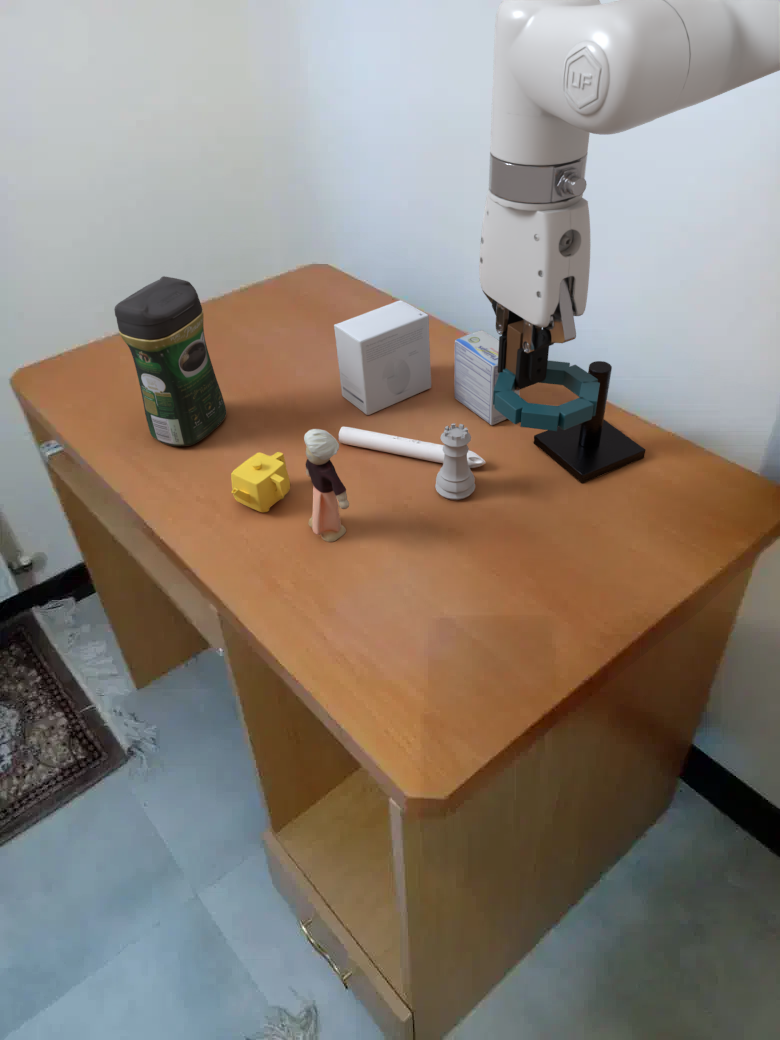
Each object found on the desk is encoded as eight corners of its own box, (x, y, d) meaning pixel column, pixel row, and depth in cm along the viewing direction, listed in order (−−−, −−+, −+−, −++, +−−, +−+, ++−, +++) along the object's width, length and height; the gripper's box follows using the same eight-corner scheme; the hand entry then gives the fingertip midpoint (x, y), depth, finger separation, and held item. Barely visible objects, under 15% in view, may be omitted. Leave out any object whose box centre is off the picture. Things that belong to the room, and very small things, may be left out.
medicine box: (519, 415, 98) (523, 353, 93) (490, 427, 97) (493, 365, 91) (480, 388, 104) (483, 328, 98) (453, 399, 102) (453, 338, 96)
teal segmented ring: (617, 409, 71) (628, 349, 67) (535, 441, 68) (541, 381, 64) (552, 364, 78) (558, 307, 74) (474, 392, 74) (476, 334, 70)
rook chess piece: (476, 501, 86) (478, 441, 81) (435, 502, 87) (435, 443, 81) (474, 476, 90) (475, 417, 84) (434, 477, 90) (434, 418, 85)
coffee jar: (189, 401, 104) (155, 265, 92) (237, 415, 101) (209, 277, 89) (139, 440, 98) (95, 300, 86) (189, 456, 95) (151, 313, 83)
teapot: (262, 531, 84) (254, 494, 81) (223, 512, 87) (214, 475, 83) (309, 491, 89) (304, 454, 86) (271, 474, 92) (264, 438, 88)
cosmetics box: (403, 368, 108) (400, 297, 101) (432, 388, 104) (431, 315, 97) (339, 395, 104) (331, 322, 97) (366, 416, 100) (361, 342, 93)
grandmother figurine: (292, 523, 85) (276, 425, 77) (319, 506, 87) (306, 409, 79) (340, 557, 81) (329, 457, 72) (367, 538, 83) (359, 438, 74)
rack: (644, 458, 91) (662, 373, 83) (581, 483, 88) (594, 397, 80) (593, 420, 97) (605, 338, 90) (533, 443, 94) (541, 360, 87)
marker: (488, 464, 91) (489, 448, 90) (483, 475, 90) (483, 458, 88) (346, 436, 97) (344, 420, 95) (339, 446, 95) (337, 430, 94)
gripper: (643, 194, 59) (608, 403, 71) (515, 142, 69) (504, 332, 82) (562, 216, 56) (541, 430, 68) (443, 159, 67) (443, 353, 79)
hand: (521, 375), depth 75 cm, fingers closed on teal segmented ring
